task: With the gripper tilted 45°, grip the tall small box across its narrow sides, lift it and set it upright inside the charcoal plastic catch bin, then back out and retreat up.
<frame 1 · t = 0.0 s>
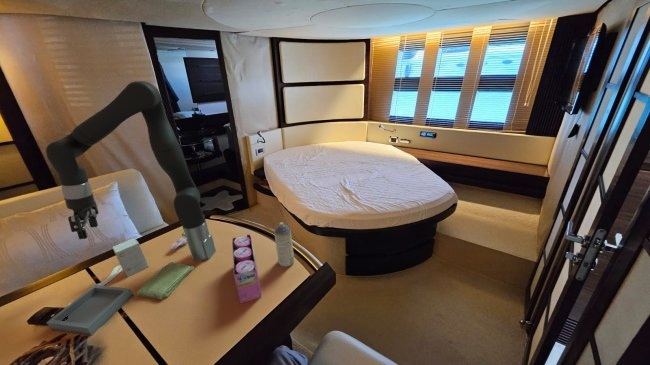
hand: (89, 232, 95), 22 cm above the table, tool pointing down, fingers open, 8 cm apart
washcloth: (168, 282, 101), on the table
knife: (105, 279, 104), on the table
aerosol can: (286, 262, 108), on the table
small box: (136, 269, 108), on the table
gum box: (248, 279, 100), on the table
catch bin: (95, 311, 88), on the table
pale purple eggplant: (183, 244, 124), on the table
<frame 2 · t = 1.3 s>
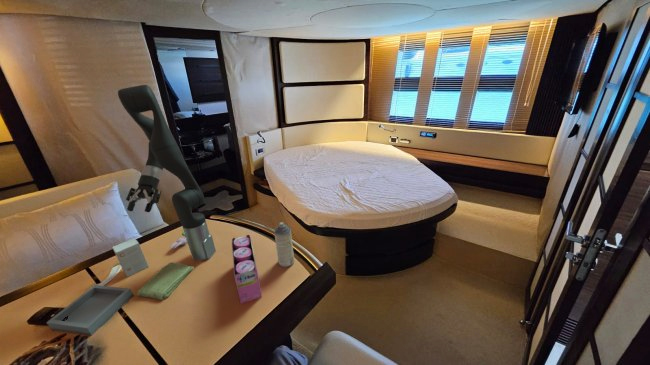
hand: (138, 211, 108), 23 cm above the table, tool tilted 45°, fingers open, 8 cm apart
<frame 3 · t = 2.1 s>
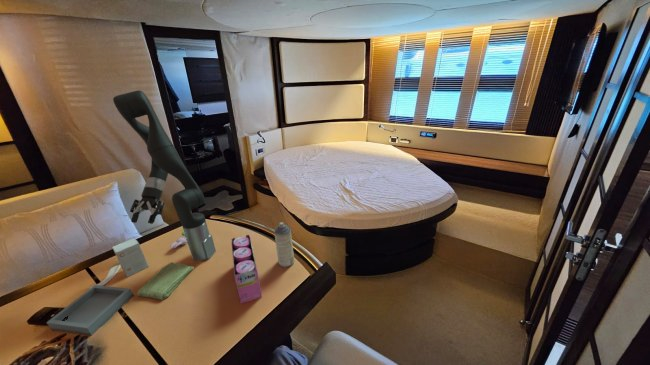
hand: (141, 222, 110), 17 cm above the table, tool tilted 45°, fingers open, 8 cm apart
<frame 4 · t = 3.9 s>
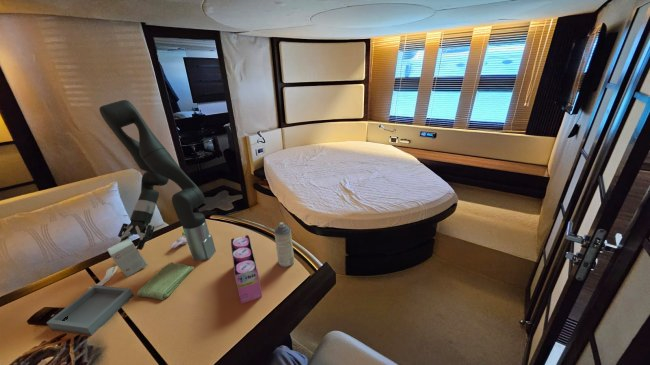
hand: (130, 248, 105), 10 cm above the table, tool tilted 45°, fingers open, 8 cm apart
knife: (101, 281, 103), on the table, touching catch bin
small box: (135, 268, 108), on the table, touching gripper
everything else where it was.
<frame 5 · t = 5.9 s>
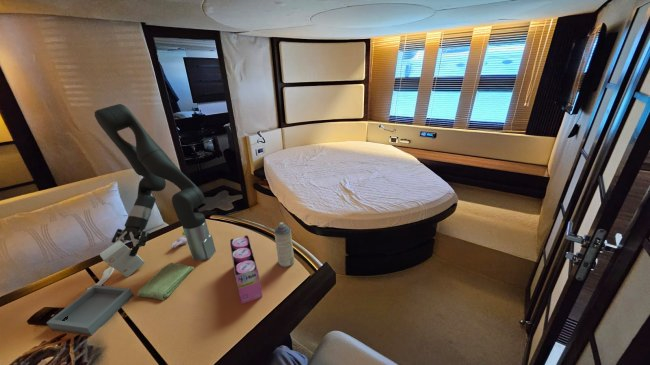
hand: (123, 255, 103), 9 cm above the table, tool tilted 45°, fingers closed on small box, 8 cm apart
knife: (98, 281, 103), on the table
small box: (134, 267, 107), point 1 cm above the table, touching gripper
everything else where it was.
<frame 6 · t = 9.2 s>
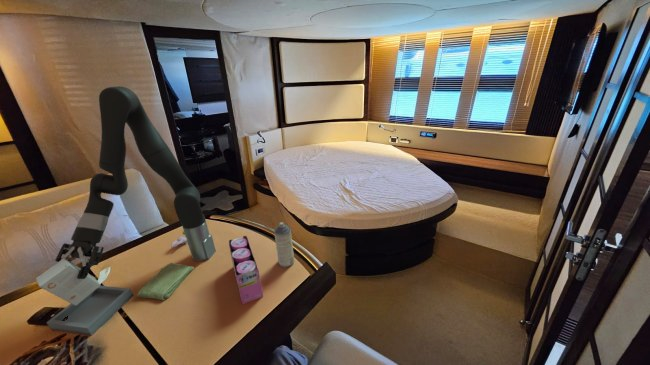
hand: (70, 277, 81), 17 cm above the table, tool tilted 45°, fingers closed on small box, 8 cm apart
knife: (95, 282, 102), on the table
small box: (86, 291, 85), point 9 cm above the table, touching gripper
when the fingers open (10 cm above the table, at t = 11.6 s): small box drops 1 cm, resting on catch bin.
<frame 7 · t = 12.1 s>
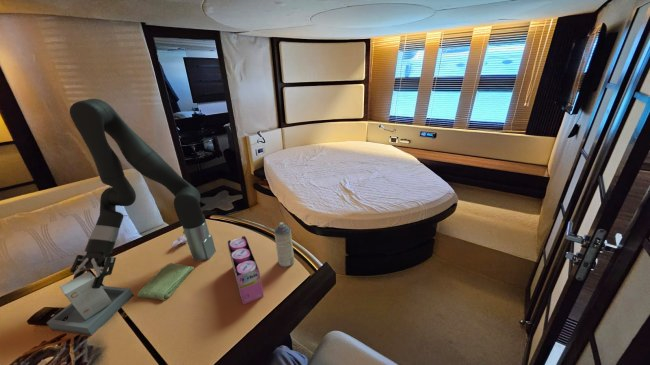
hand: (85, 287, 85), 11 cm above the table, tool tilted 45°, fingers open, 8 cm apart
small box: (96, 308, 89), point 1 cm above the table, touching catch bin, gripper
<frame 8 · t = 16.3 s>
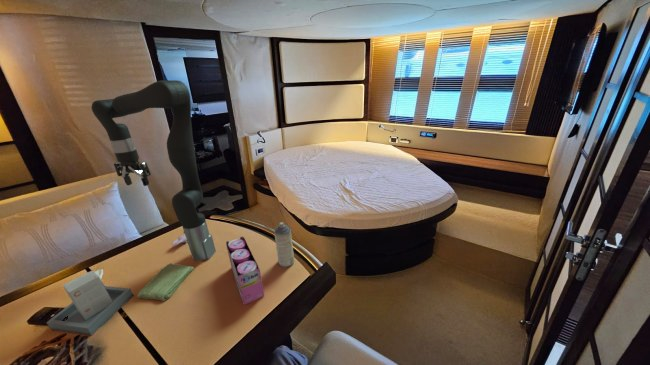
hand: (138, 184, 110), 33 cm above the table, tool pointing down, fingers open, 8 cm apart
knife: (89, 284, 102), on the table
small box: (96, 308, 89), point 1 cm above the table, touching catch bin
at the end: small box inside the target area on the catch bin (0.7 cm from its centre), point 0.8 cm above the catch bin's base; small box tilted 0°; the gripper is holding nothing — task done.
